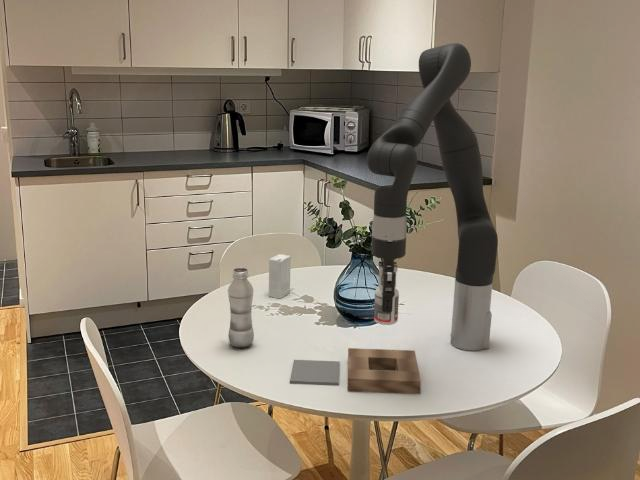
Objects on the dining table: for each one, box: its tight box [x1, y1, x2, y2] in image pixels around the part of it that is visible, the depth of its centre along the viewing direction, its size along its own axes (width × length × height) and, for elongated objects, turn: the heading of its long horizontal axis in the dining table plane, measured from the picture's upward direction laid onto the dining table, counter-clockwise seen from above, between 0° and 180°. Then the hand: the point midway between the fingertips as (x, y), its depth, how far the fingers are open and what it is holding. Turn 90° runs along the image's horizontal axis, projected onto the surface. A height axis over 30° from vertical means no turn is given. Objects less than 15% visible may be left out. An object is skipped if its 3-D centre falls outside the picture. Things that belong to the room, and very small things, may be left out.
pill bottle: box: [373, 278, 400, 326], centre depth 159 cm, size 5×5×10 cm
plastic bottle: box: [227, 267, 255, 348], centre depth 176 cm, size 6×7×20 cm
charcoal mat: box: [289, 359, 341, 386], centre depth 165 cm, size 11×11×1 cm
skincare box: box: [268, 253, 292, 299], centre depth 213 cm, size 6×4×12 cm
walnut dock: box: [347, 347, 422, 395], centre depth 164 cm, size 16×16×3 cm
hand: (386, 306), depth 159 cm, fingers closed on pill bottle, 5 cm apart
